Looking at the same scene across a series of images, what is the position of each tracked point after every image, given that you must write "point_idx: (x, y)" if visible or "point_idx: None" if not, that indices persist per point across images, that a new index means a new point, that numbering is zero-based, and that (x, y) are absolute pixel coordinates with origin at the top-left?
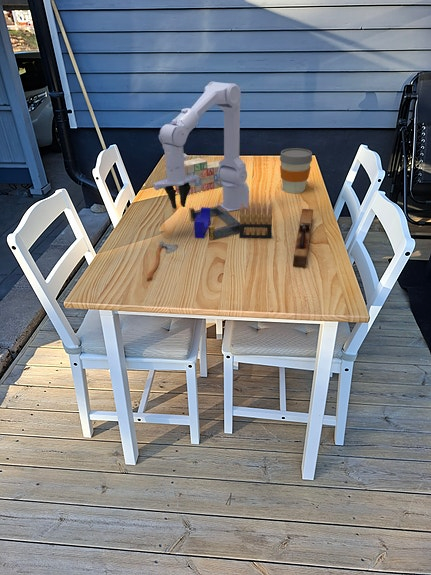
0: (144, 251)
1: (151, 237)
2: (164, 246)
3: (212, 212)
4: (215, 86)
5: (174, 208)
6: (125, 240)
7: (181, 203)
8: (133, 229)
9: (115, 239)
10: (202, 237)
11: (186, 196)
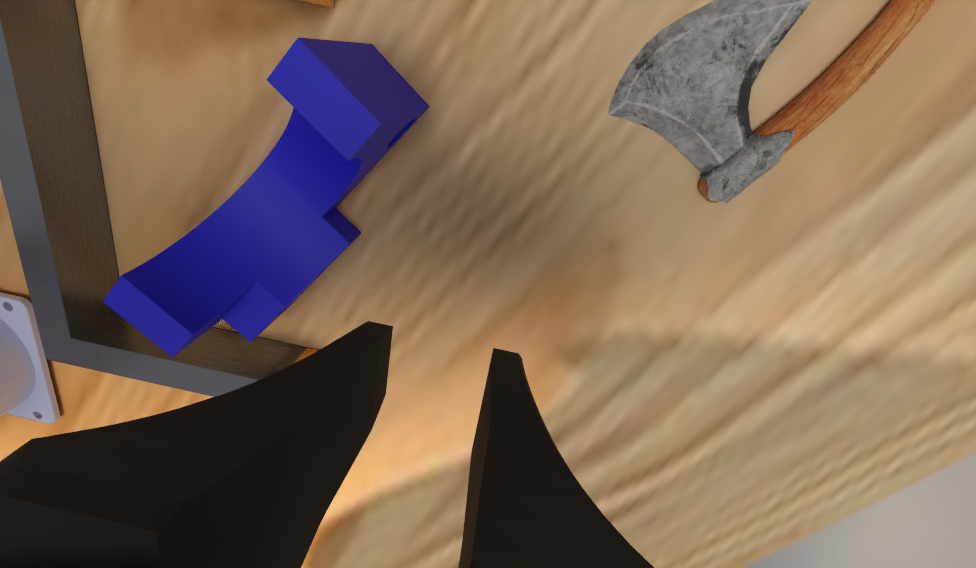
0: (906, 177)
1: (691, 337)
2: (741, 122)
3: (132, 331)
4: None
5: (519, 356)
6: (858, 416)
7: (377, 392)
8: (700, 498)
9: (893, 467)
10: (377, 51)
11: (262, 385)
